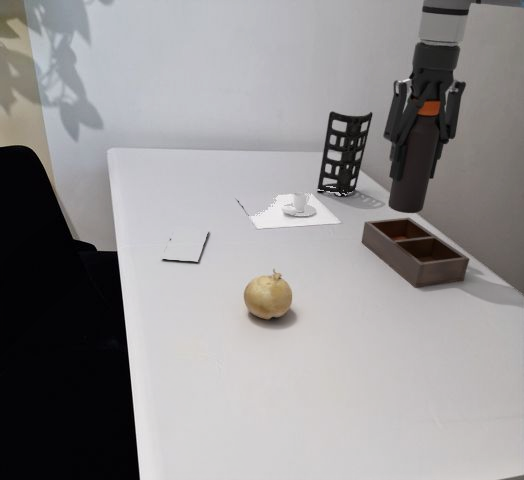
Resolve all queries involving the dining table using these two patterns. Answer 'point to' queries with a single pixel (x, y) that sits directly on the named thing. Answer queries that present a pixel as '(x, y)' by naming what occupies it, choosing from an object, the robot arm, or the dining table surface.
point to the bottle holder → (414, 252)
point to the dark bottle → (416, 161)
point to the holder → (344, 152)
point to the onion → (268, 296)
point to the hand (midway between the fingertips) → (411, 177)
